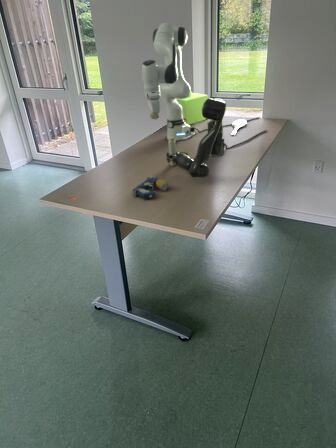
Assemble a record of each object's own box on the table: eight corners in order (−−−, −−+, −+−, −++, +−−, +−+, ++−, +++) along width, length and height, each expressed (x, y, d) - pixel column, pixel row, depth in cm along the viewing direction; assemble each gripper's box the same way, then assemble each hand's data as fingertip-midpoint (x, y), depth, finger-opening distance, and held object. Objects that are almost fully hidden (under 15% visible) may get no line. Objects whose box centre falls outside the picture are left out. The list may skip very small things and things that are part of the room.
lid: (159, 118, 192) (159, 114, 191) (151, 119, 192) (150, 115, 191) (158, 116, 196) (158, 112, 195) (150, 117, 196) (149, 113, 195)
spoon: (240, 137, 241) (240, 135, 240) (225, 137, 245) (225, 134, 244) (248, 121, 267) (248, 119, 266) (234, 121, 271) (234, 118, 270)
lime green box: (191, 115, 302) (190, 88, 290) (208, 118, 288) (208, 90, 276) (170, 121, 289) (168, 93, 277) (187, 125, 275) (185, 95, 263)
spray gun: (173, 183, 178) (149, 181, 184) (172, 176, 176) (148, 174, 182) (155, 202, 162) (129, 198, 169) (154, 194, 160) (128, 191, 167)
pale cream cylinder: (171, 166, 201) (169, 139, 192) (169, 164, 204) (167, 137, 195) (177, 164, 202) (176, 137, 193) (175, 162, 205) (173, 135, 196)
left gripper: (144, 90, 195) (147, 114, 202) (149, 96, 178) (151, 123, 185) (154, 89, 196) (157, 113, 203) (160, 95, 179) (163, 121, 186)
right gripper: (194, 152, 189) (180, 144, 202) (172, 158, 184) (159, 149, 197) (195, 164, 193) (181, 156, 206) (173, 170, 188) (160, 161, 201)
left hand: (154, 117), depth 194 cm, fingers closed on lid, 4 cm apart
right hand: (170, 153), depth 202 cm, fingers closed on pale cream cylinder, 4 cm apart
